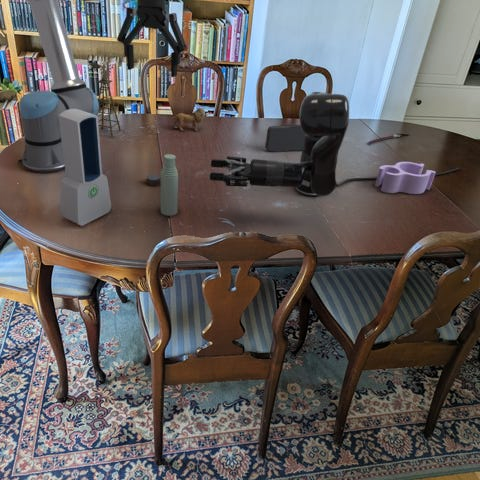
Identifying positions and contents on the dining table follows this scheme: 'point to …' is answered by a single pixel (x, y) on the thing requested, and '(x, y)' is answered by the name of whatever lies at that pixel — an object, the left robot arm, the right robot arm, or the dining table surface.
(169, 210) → the bottle
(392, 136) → the sword
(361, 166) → the dining table surface
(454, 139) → the dining table surface
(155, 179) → the cap
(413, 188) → the clip
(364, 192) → the dining table surface
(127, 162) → the dining table surface
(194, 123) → the lion figurine
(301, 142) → the handheld gaming console
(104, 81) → the miniature windmill
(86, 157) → the electronic device
